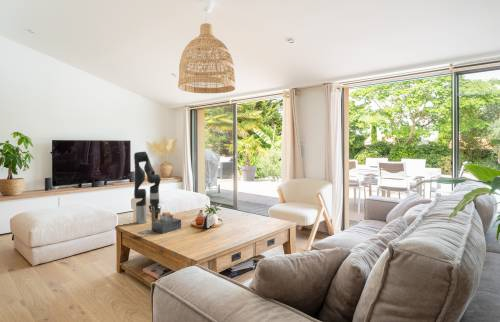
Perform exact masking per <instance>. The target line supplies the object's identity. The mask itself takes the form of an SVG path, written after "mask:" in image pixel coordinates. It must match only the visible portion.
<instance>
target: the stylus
mask: <svg viewBox="0 0 500 322" xmlns="http://www.w3.org/2000/svg"><path fill="white" fill-rule="evenodd" d="M156 212H157V211H156ZM150 216H151V218H150V219H151V222H152V221H153V222H156V221H158V220H159V217H158V218H155V211H154V210H151V212H150Z"/></svg>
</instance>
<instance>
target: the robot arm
mask: <svg viewBox="0 0 500 322" xmlns="http://www.w3.org/2000/svg"><path fill="white" fill-rule="evenodd" d="M133 160H134V193H133V197H134V199H136V200H137V199H141V200H139V201H137V202H135V223H136V224H139V225H141V224H146V223H147V190H146V188H140V187H141V185H142V184H143V183H144V182H145V179H147V182H148V184H153V185H151V186H149V205H148V209H149V213H151V210H154V211H155V218H158V219H159V214H160V213H161V206H159V204H160V191H159V188H160V183H161V175H160V174H156V171H155V170H154V168H153V166H152V164H151V161H150V158H149V155H148V153H147V152H146V151H137V152H134V155H133ZM144 162H145V164H144V167H143V168H144V169H143V168H142V167H141V165H140V163H144ZM146 177H147V178H146ZM156 211H157V212H156Z"/></svg>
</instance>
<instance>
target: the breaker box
mask: <svg viewBox="0 0 500 322" xmlns="http://www.w3.org/2000/svg"><path fill="white" fill-rule="evenodd" d="M181 229H182V219H180V218H174V216H173V214H171V213H170V215H169V216H162V214H161V215H159V219H158V221H156V222H153V221H151V231H153V232H156V233H160V234H167V233H170V232H173V231H177V230H181Z"/></svg>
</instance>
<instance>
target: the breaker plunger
mask: <svg viewBox="0 0 500 322" xmlns="http://www.w3.org/2000/svg"><path fill="white" fill-rule="evenodd" d="M170 214H171V212H169V211H164V212H162V213H161V215H162V216H169V215H170Z"/></svg>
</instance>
